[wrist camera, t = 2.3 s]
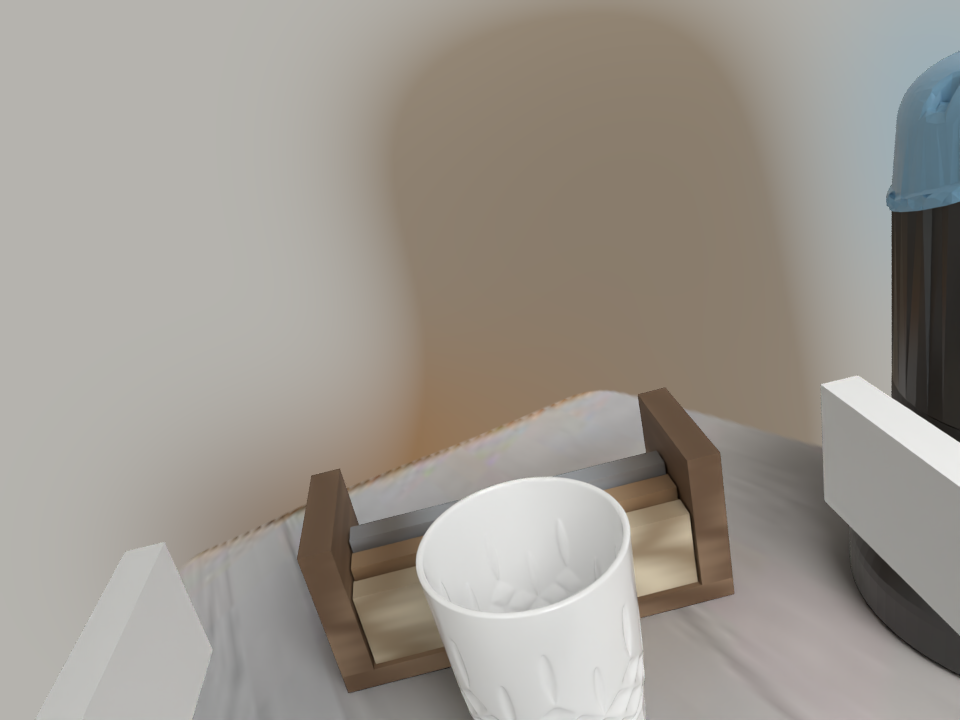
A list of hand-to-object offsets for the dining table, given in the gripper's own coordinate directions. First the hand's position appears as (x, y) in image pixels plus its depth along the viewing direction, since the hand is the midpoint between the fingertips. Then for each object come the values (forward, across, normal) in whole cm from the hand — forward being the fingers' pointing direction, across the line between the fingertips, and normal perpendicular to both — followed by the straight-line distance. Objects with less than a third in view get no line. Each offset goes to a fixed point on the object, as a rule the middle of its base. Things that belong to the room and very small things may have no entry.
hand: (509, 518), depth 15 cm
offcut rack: (+19, +1, -18) cm, 26 cm away
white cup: (+10, +1, -18) cm, 21 cm away
